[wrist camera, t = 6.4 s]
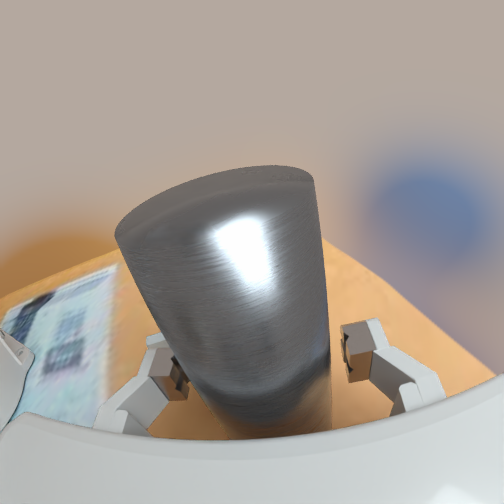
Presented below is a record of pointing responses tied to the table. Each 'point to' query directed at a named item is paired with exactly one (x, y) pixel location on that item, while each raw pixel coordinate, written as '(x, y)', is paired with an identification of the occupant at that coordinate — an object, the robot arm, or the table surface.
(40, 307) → the table surface
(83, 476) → the robot arm
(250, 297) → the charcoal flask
